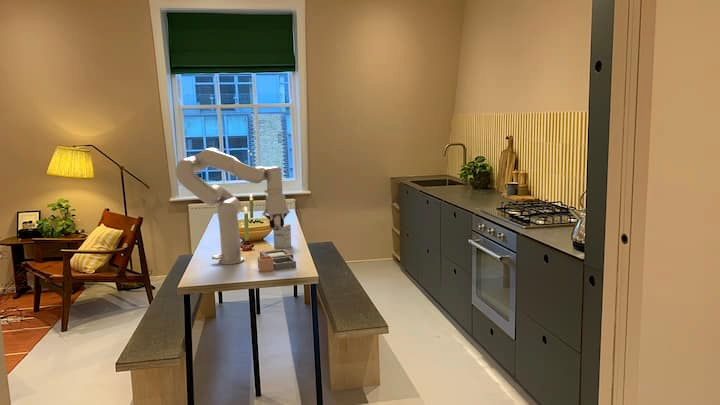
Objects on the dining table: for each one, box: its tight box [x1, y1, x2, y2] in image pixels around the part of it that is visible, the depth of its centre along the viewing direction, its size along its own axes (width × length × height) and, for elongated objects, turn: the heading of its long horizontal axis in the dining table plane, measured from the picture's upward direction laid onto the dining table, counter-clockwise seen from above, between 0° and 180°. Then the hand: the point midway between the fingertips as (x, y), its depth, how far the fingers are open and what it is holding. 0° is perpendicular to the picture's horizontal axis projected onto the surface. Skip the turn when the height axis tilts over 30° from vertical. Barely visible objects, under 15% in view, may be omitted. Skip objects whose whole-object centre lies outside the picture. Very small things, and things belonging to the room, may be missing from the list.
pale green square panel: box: [267, 252, 285, 256], centre depth 279 cm, size 9×9×1 cm
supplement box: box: [273, 223, 292, 249], centre depth 304 cm, size 7×7×13 cm
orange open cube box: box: [257, 256, 275, 273], centre depth 258 cm, size 6×6×6 cm
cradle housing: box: [259, 248, 295, 260], centre depth 279 cm, size 14×14×3 cm
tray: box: [273, 256, 297, 271], centre depth 265 cm, size 11×11×3 cm
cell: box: [272, 214, 281, 231], centre depth 272 cm, size 4×4×9 cm
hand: (277, 226), depth 273 cm, fingers closed on cell, 4 cm apart
